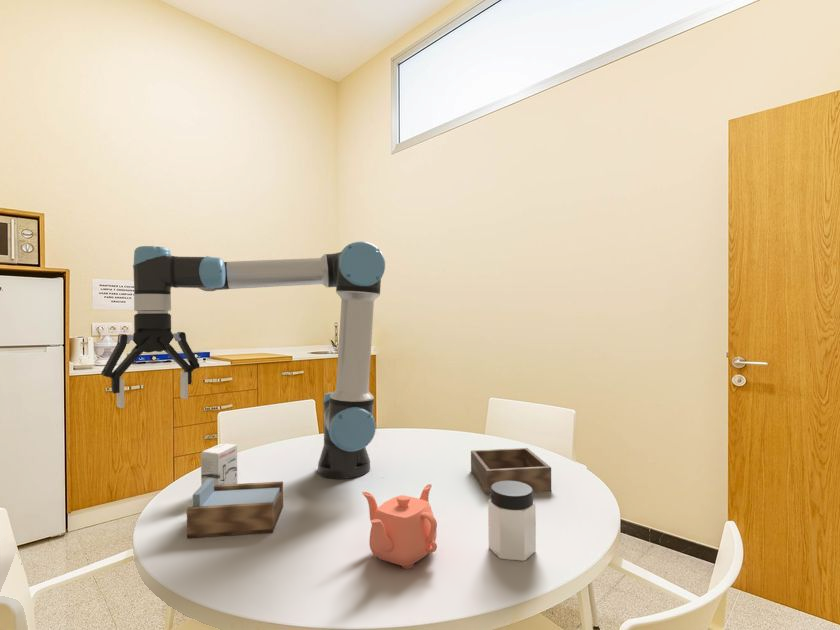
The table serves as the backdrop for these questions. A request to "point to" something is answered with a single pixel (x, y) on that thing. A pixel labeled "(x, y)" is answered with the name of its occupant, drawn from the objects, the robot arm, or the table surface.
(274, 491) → the lid
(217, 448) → the ink box
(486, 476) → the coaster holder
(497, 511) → the jar
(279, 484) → the box
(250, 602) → the table surface
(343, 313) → the robot arm
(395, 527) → the teapot
